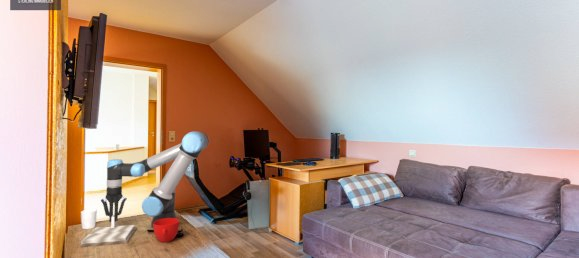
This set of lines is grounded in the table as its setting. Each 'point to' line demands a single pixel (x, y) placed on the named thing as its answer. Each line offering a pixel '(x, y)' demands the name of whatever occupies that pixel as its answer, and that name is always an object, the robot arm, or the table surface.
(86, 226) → the white cup
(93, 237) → the base board
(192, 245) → the table surface
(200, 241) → the table surface
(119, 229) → the raised plank
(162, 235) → the ceramic cup
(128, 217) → the table surface
